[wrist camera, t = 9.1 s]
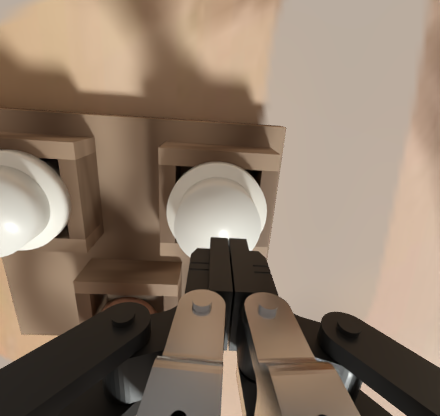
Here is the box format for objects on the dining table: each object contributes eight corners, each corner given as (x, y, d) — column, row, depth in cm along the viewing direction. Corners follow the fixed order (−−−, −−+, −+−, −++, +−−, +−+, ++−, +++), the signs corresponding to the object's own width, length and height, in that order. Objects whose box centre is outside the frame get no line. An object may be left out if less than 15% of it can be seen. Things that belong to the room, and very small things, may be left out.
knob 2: (261, 156, 19) (281, 176, 13) (252, 233, 21) (266, 278, 15) (174, 151, 18) (159, 169, 13) (174, 230, 21) (161, 274, 15)
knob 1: (85, 145, 18) (31, 162, 13) (94, 226, 20) (51, 271, 15) (-8, 140, 18) (-104, 155, 12) (11, 223, 20) (-64, 266, 14)
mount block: (280, 126, 20) (299, 131, 15) (253, 327, 26) (261, 369, 22) (-18, 106, 19) (-85, 106, 14) (31, 321, 25) (-4, 364, 21)
